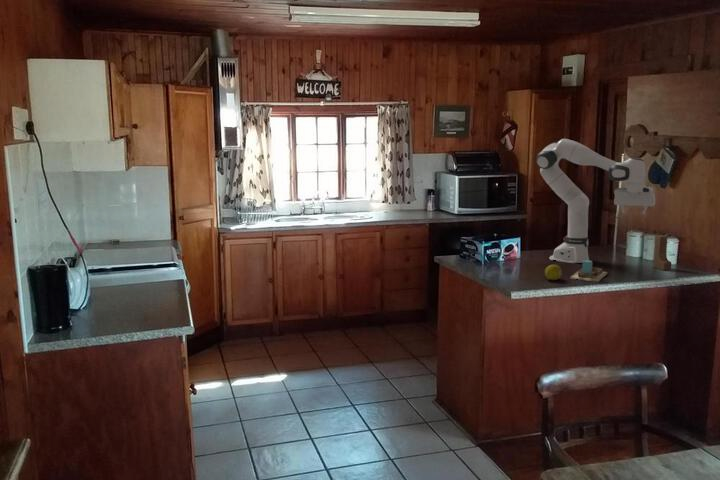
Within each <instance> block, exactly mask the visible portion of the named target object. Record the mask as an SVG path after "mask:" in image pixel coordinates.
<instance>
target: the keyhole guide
mask: <svg viewBox="0 0 720 480" xmlns="http://www.w3.org/2000/svg"><path fill="white" fill-rule="evenodd" d="M603 270H604V269H603V268H599V267H592V274H586V273H582V268H580V269H579V270H578V271H576V272H575V273H573V274H572V275H571V276H570V278H569V279H570V280H576V279H578V280H579V281H587V282H593V283H594V282H595V283H598V282H600V281H601V280H602V279H603V278H605V276H607V275H608V271H603ZM578 280H577V281H578Z"/></svg>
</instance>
